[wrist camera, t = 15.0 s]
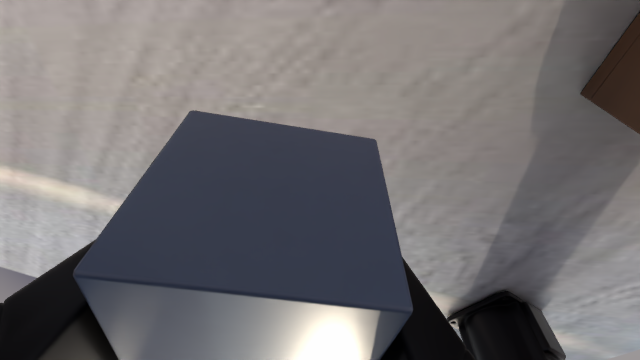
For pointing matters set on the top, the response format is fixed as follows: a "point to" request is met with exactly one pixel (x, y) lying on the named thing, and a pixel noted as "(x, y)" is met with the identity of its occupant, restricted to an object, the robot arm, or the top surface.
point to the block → (251, 249)
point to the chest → (620, 80)
